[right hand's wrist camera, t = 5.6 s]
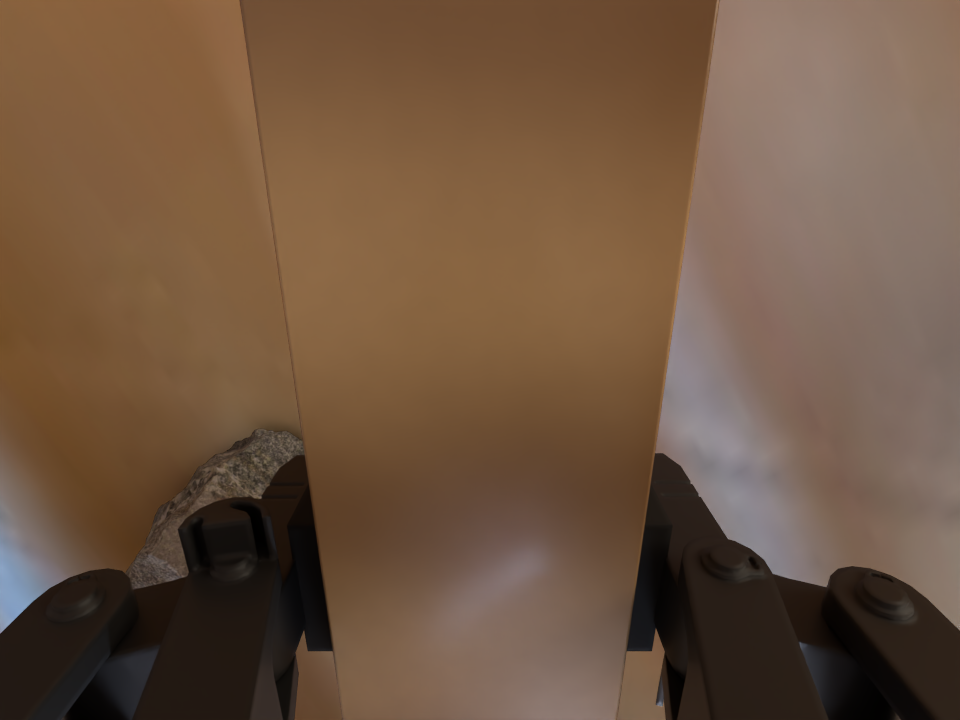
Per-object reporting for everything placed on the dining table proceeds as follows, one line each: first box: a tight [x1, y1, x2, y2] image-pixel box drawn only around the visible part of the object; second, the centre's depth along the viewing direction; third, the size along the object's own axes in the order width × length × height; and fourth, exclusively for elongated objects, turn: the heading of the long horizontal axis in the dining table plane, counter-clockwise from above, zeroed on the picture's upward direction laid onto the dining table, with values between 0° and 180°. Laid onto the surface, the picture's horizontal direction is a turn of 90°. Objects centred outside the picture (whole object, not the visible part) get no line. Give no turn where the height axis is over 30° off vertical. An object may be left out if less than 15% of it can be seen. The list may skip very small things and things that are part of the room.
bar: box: [240, 0, 720, 720], centre depth 9 cm, size 24×4×8 cm, turn 0°
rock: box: [125, 429, 305, 590], centre depth 25 cm, size 13×9×6 cm, turn 165°
